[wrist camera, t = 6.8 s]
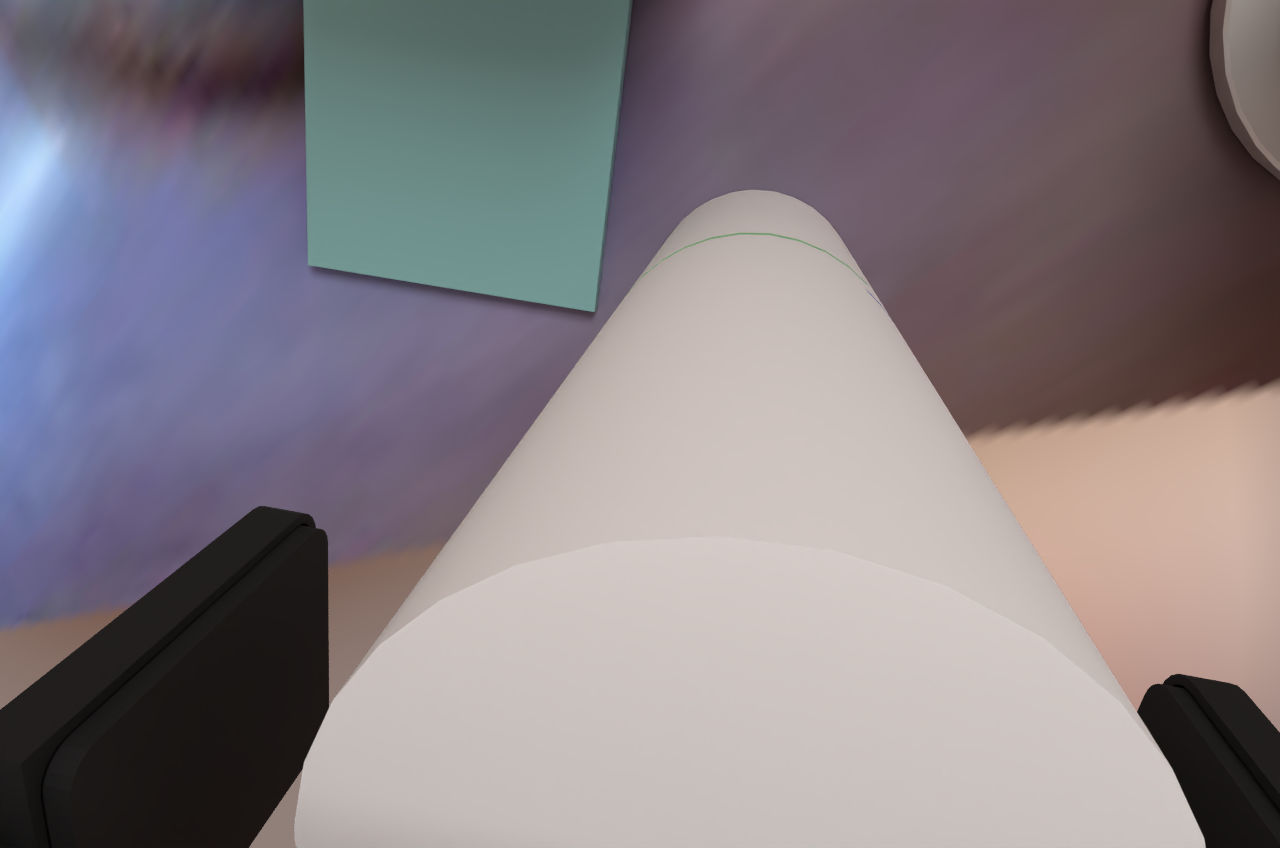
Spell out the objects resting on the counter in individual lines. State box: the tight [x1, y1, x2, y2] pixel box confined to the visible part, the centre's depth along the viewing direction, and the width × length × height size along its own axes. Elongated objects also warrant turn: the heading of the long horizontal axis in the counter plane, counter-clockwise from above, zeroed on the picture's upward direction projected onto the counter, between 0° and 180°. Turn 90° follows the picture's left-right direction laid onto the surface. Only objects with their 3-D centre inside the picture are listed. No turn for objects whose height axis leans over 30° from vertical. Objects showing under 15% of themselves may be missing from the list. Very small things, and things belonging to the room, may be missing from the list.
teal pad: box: [303, 0, 633, 312], centre depth 29 cm, size 11×11×1 cm
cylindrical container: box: [294, 190, 1206, 848], centre depth 18 cm, size 7×7×25 cm
